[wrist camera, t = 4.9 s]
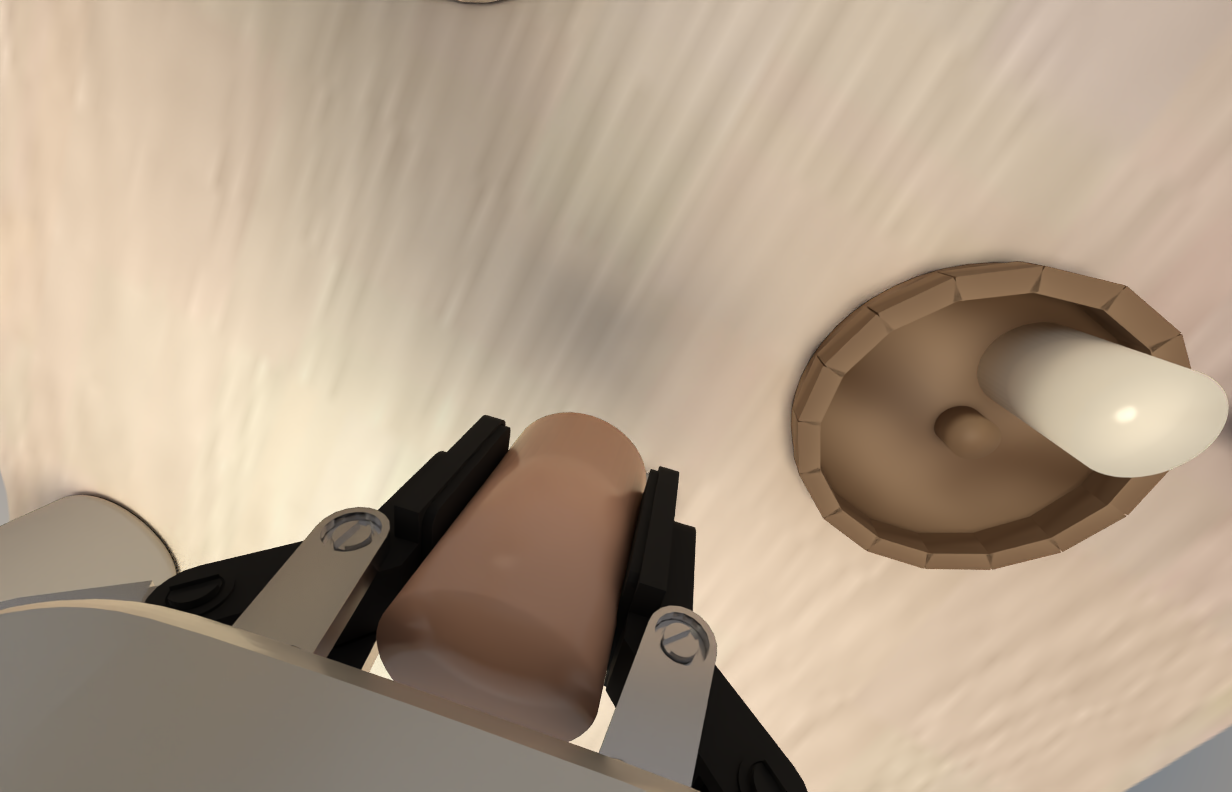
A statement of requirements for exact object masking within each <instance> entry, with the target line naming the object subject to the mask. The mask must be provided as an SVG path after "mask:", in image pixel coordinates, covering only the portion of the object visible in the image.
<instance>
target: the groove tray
mask: <svg viewBox="0 0 1232 792" xmlns="http://www.w3.org/2000/svg"><path fill="white" fill-rule="evenodd" d="M1037 322H1051V323H1057V324H1060V325H1063V326H1066V327H1069V328H1072V329H1075V330H1078V331H1081V332H1084V333H1087V334H1090V335H1092V336H1095V337H1098V338H1101V339H1104V340H1107V341H1110V342H1113V343H1116V344H1119V345H1122V346H1124V347H1127V348H1130V349H1133V350H1136V351H1139V352H1142V353H1145V354H1148V355H1151V356H1154V357H1156V358H1159V359H1162V360H1165V361H1168V362H1171V363H1174V364H1177V365H1180V366H1183V367H1186V368H1188V369H1191V366H1190V363H1189V359H1188V355H1187V351H1186V347H1185V343H1184V340H1183V336H1182V334H1180V333H1181V332H1180V331H1178V330H1177V329H1176V328H1175V327H1174V326H1173V325H1171V324H1170V323H1169V322H1168V321H1167V320H1166V319H1165V318H1163V317H1162V316H1161V315H1160V314H1159V313H1158V312H1156V311H1155V310H1154V309H1153V308H1152V307H1151V306H1149V305H1148V304H1147V303H1146V302H1145V301H1144V300H1143V299H1141V298H1140V297H1139V296H1138V295H1137V294H1136V293H1134V292H1133V291H1132V290H1131V289H1130V288H1129V287H1128V286H1125V285H1121V284H1117V283H1113V282H1109V281H1105V280H1101V279H1097V278H1092V277H1088V276H1084V275H1080V274H1076V273H1072V272H1068V271H1064V270H1059V269H1055V268H1051V267H1047V266H1042V265H1037V264H1031V263H1026V262H1019V261H1016V262H1008V263H996V262H992V263H978V264H966V265H961V266H955V267H950V268H945V269H940V270H937V271H934V272H930V273H927V274H924V275H920V276H917V277H915V278H912V279H910V280H908V281H905V282H903V283H901V284H898V285H896V286H894V287H892V288H890V289H888V290H886V291H884V292H883V293H881V294H879V295H877V296H875V297H874V298H872V299H871V300H869V301H868V302H866V303H865V304H863V305H862V306H861V307H859V308H858V309H856V310H855V311H853V312H852V313H851V314H850V315H849V316H848V317H847V318H845V319H844V320H843V321H842V322H841V323H840V324H839V325H838V326H836V327H835V329H834V330H833V331H832V332H831V333H830V334H829V335H828V336H827V338H826V339H825V340H824V341H823V342H822V343H821V345H820V346H819V347H818V349H817V350H816V352H815V353H814V355H813V356H812V358H811V359H810V361H809V363H808V365H807V366H806V368H805V370H804V372H803V374H802V376H801V379H800V382H799V384H798V387H797V390H796V393H795V397H794V402H793V407H792V417H791V431H792V441H793V445H794V459H795V462H796V465H797V469H798V472H799V475H800V477H801V479H802V480H803V482H804V484H805V486H806V488H807V489H808V491H809V493H810V495H811V497H812V499H813V500H814V502H815V504H816V506H817V508H818V510H819V511H820V513H821V515H822V517H823V518H824V519H825V520H826V521H827V522H829V523H830V524H831V525H833V526H834V527H835V528H837V529H838V530H839V531H841V532H842V533H843V534H845V535H846V536H847V537H849V538H850V539H851V540H853V541H854V542H855V543H857V544H858V545H859V546H861V547H862V548H863V549H865V550H867V551H868V552H872V553H875V554H878V555H881V556H885V557H888V558H891V559H894V560H898V561H901V562H904V563H907V564H910V565H914V566H917V567H920V568H925V569H974V570H990V569H996V568H1001V567H1005V566H1009V565H1013V564H1017V563H1021V562H1025V561H1029V560H1033V559H1037V558H1041V557H1045V556H1049V555H1053V554H1057V553H1061V552H1060V550H1061V551H1062V552H1063V551H1065V550H1067V549H1069V548H1070V547H1072V546H1074V545H1076V544H1078V543H1079V542H1081V541H1083V540H1085V539H1087V538H1088V537H1090V536H1092V535H1094V534H1096V533H1097V532H1099V531H1101V530H1103V529H1105V528H1106V527H1108V526H1110V525H1112V524H1113V523H1115V522H1117V521H1119V520H1121V519H1122V518H1124V517H1126V515H1124V514H1127V515H1129V514H1130V512H1131V511H1132V510H1133V509H1134V508H1135V507H1136V506H1137V505H1138V504H1139V503H1140V502H1141V501H1142V499H1143V498H1144V497H1145V496H1146V495H1147V494H1148V493H1149V492H1150V491H1151V490H1152V489H1153V488H1154V486H1155V485H1156V484H1157V483H1158V482H1159V481H1160V480H1161V479H1162V478H1163V477H1164V476H1165V474H1166V473H1167V472H1168V471H1169V470H1168V471H1165V472H1162V473H1158V474H1154V475H1150V476H1143V477H1132V478H1130V477H1114V476H1109V475H1105V474H1102V473H1099V472H1096V471H1094V470H1092V469H1090V468H1089V467H1087V466H1086V465H1085V464H1083V463H1082V462H1080V461H1079V460H1077V459H1076V458H1075V457H1073V456H1072V455H1070V454H1069V453H1067V452H1066V451H1065V450H1063V449H1062V448H1060V447H1059V446H1057V445H1056V444H1055V443H1053V442H1052V441H1050V440H1049V439H1047V438H1046V437H1045V436H1043V435H1042V434H1040V433H1039V432H1037V431H1036V430H1034V429H1033V428H1032V427H1030V426H1029V425H1027V424H1026V423H1024V422H1023V421H1022V420H1020V419H1019V418H1017V417H1016V416H1014V415H1013V414H1012V413H1010V412H1009V411H1007V410H1006V409H1004V408H1003V407H1002V406H1000V405H999V404H997V403H996V402H994V401H993V400H992V399H990V398H989V397H988V396H987V395H985V394H984V392H983V391H982V389H981V387H980V386H979V382H978V377H977V372H978V366H979V363H980V360H981V358H982V356H983V354H984V353H985V351H986V350H987V348H988V347H989V346H990V345H991V344H992V343H993V342H994V341H995V340H996V339H998V338H999V337H1000V336H1002V335H1003V334H1005V333H1007V332H1008V331H1010V330H1012V329H1014V328H1017V327H1020V326H1022V325H1026V324H1030V323H1037Z"/></svg>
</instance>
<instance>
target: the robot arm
mask: <svg viewBox="0 0 1232 792" xmlns="http://www.w3.org/2000/svg"><path fill="white" fill-rule="evenodd" d="M457 1H461V2H488V3H489V2H493V1H497V0H457ZM509 439H510V427H507V426H505V421H504V420H501V419H498V418H494V417H491V416H488V415H484V416H482V417H481V418H480V419H479V420H478V421H477V422H476V423H475V424H474V425H473V426H472V427H471V428H470V429H469V430H468V431H467V432H466V433H465V434H464V435H463V436H462V438H461V439H460V440H459V441H458V442H457V443H456V444H455V445H454V446H453V447H452V448H451V449H450V450H449V451H448V452H444V451H440V452H438V453H437V454H435V455H434V456H433V457H432V458H431V459H430V460H429V461H428V462H427V463H426V464H425V465H424V466H423V467H422V468H421V469H420V470H419V471H418V472H417V473H416V474H415V475H413V476H412V477H411V478H410V479H409V480H408V481H407V482H406V483H405V484H404V485H403V486H402V487H401V488H400V489H399V490H398V491H397V492H396V493H395V494H394V495H393V496H392V497H391V498H390V499H389V500H388V501H387V502H386V503H385V504H384V505H383V506H381V507H380V508H379V509H378V510H375V509H372V508H365V507H355V508H348V509H344V510H341V511H338V512H335V513H333V514H331V515H330V516H328V517H326V518H324V519H323V520H322V521H321V522H320V523H319V524H318V525H317V526H316V527H315V528H314V529H313V530H312V532H311V533H310V534H309V535H308V536H307V538H306V539H305V540H304V541H301V542H297V543H293V544H289V545H284V546H280V547H276V548H272V549H268V550H263V551H259V552H255V553H251V554H247V555H242V556H238V557H234V558H230V559H226V560H221V561H217V562H213V563H209V564H205V565H200V566H197V567H194V568H191V569H188V570H185V571H183V572H181V573H179V574H177V575H175V576H173V577H171V578H169V579H168V580H166V581H165V582H163V583H162V584H161V585H159V586H155V585H154V582H153V580H150V581H143V582H135V583H127V584H120V585H112V586H104V587H96V588H89V589H81V590H73V591H66V592H58V593H50V594H42V595H35V596H27V597H19V598H15V599H11V600H6V601H2V602H0V792H808V791H807V789H806V786H805V784H804V781H803V780H802V778H801V777H800V775H799V774H798V772H797V770H796V769H795V767H794V766H793V765H792V763H791V762H790V761H789V759H788V758H787V757H786V756H785V754H784V753H783V752H782V750H781V749H780V748H779V747H778V745H777V744H776V743H775V741H774V740H773V739H772V737H771V736H770V735H769V734H768V732H767V731H766V730H765V728H764V727H763V726H762V725H761V723H760V722H759V721H758V719H757V718H756V717H755V716H754V714H753V713H752V712H751V710H750V709H749V708H748V706H747V705H746V704H745V703H744V701H743V700H742V699H741V697H740V696H739V695H738V694H737V692H736V691H735V690H734V688H733V687H732V686H731V685H730V683H729V682H728V681H727V679H726V678H725V677H724V675H723V674H722V673H721V672H720V670H719V669H718V668H717V666H716V665H715V661H716V656H717V643H716V640H715V636H714V633H713V632H712V630H711V628H710V627H709V625H708V624H707V623H706V622H705V621H704V620H703V619H702V618H701V617H700V616H699V615H698V614H696V613H694V612H693V591H694V567H695V544H696V529H695V527H692V526H688V525H685V524H682V523H678V522H675V521H674V517H675V508H676V498H677V489H678V480H679V472H678V471H675V470H671V469H668V468H665V467H661V466H660V467H659V469H658V471H656V470H652V469H651V470H650V473H649V476H648V479H647V482H646V486H645V489H644V492H643V496H642V501H641V505H640V510H639V514H638V519H637V523H636V528H635V532H634V537H633V541H632V546H631V550H630V555H629V560H628V564H627V569H626V573H625V578H624V582H623V587H622V591H621V596H620V600H619V605H618V609H617V624H616V629H615V634H614V638H613V643H612V648H611V652H610V657H609V662H608V666H607V672H606V677H605V681H604V686H606V692H607V693H608V695H609V697H610V699H611V701H612V702H613V704H614V706H615V711H614V714H613V716H612V719H611V722H610V724H609V727H608V730H607V732H606V735H605V738H604V740H603V743H602V746H601V748H600V751H599V753H597V752H594V751H591V750H588V749H586V748H583V747H580V746H577V745H574V744H571V743H569V742H566V741H563V740H560V739H557V738H555V737H552V736H549V735H546V734H543V733H540V732H538V731H535V730H532V729H529V728H526V727H524V726H521V725H518V724H515V723H512V722H509V721H507V720H504V719H501V718H498V717H495V716H492V715H490V714H487V713H484V712H481V711H478V710H475V709H472V708H470V707H467V706H464V705H461V704H458V703H455V702H452V701H450V700H447V699H444V698H441V697H438V696H435V695H432V694H429V693H427V692H424V691H421V690H418V689H415V688H412V687H409V686H406V685H404V684H401V683H398V682H395V681H392V680H389V679H386V678H383V677H381V676H378V675H375V674H372V673H369V672H370V670H371V668H372V666H373V664H374V662H375V660H376V658H377V656H378V654H379V651H378V648H377V641H376V635H377V627H378V624H379V621H380V619H381V617H382V615H383V613H384V612H385V611H386V609H387V608H388V607H389V605H390V604H391V603H392V601H393V600H394V599H395V598H396V596H397V595H398V594H399V592H400V591H401V590H402V588H403V587H404V586H405V585H406V583H407V582H408V581H409V579H410V578H411V577H412V575H413V574H414V573H415V571H416V570H417V569H418V568H419V566H420V565H421V564H422V562H423V561H424V560H425V558H426V557H427V556H428V555H429V553H430V552H431V551H432V549H433V548H434V547H435V545H436V544H437V543H438V542H439V540H440V539H441V538H442V536H443V535H444V534H445V532H446V531H447V530H448V529H449V527H450V526H451V525H452V523H453V522H454V521H455V519H456V518H457V517H458V515H459V514H460V513H461V512H462V510H463V509H464V508H465V506H466V505H467V504H468V502H469V501H470V500H471V499H472V497H473V496H474V495H475V493H476V492H477V491H478V489H479V488H480V487H481V486H482V484H483V483H484V482H485V480H486V479H487V478H488V476H489V475H490V474H491V473H492V471H493V470H494V469H495V467H496V466H497V465H498V463H499V462H500V461H501V459H502V458H503V457H504V456H505V454H506V453H507V452H508V447H509Z"/></svg>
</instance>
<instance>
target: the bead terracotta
mask: <svg viewBox="0 0 1232 792" xmlns="http://www.w3.org/2000/svg"><path fill="white" fill-rule="evenodd" d="M645 486H646V471H645V467H644V463H643V460H642V458H641V456H640V454H639V452H638V450H637V449H636V447H635V446H634V445H633V443H632V442H631V441H630V440H629V439H628V438H627V437H626V436H625V435H624V434H623V433H622V432H621V431H620V430H618V429H617V428H616V427H614V426H613V425H611V424H609V423H608V422H605V421H603V420H601V419H599V418H596V417H593V416H590V415H586V414H582V413H573V412H566V413H556V414H551V415H548V416H545V417H542V418H540V419H538V420H536V421H535V422H533V423H532V424H530V425H529V426H528V427H527V428H526V429H525V430H524V431H523V432H522V434H521V435H520V436H519V437H518V439H517V440H516V441H515V443H514V444H513V445H512V446H511V448H510V449H509V450H508V452H507V453H506V454H505V456H504V457H503V458H502V459H501V461H500V462H499V463H498V465H497V466H496V467H495V469H494V470H493V471H492V473H491V474H490V475H489V476H488V478H487V479H486V480H485V482H484V483H483V484H482V486H481V487H480V488H479V489H478V491H477V492H476V493H475V495H474V496H473V497H472V499H471V500H470V501H469V502H468V504H467V505H466V506H465V508H464V509H463V510H462V512H461V513H460V514H459V515H458V517H457V518H456V519H455V521H454V522H453V523H452V525H451V526H450V527H449V529H448V530H447V531H446V532H445V534H444V535H443V536H442V538H441V539H440V540H439V542H438V543H437V544H436V545H435V547H434V548H433V549H432V551H431V552H430V553H429V555H428V556H427V557H426V558H425V560H424V561H423V562H422V564H421V565H420V566H419V568H418V569H417V570H416V571H415V573H414V574H413V575H412V577H411V578H410V579H409V581H408V582H407V583H406V585H405V586H404V587H403V588H402V590H401V591H400V592H399V594H398V595H397V596H396V598H395V599H394V600H393V601H392V603H391V604H390V605H389V607H388V608H387V609H386V611H385V612H384V613H383V615H382V617H381V619H380V621H379V624H378V627H377V635H376V641H377V648H378V651H379V655H380V658H381V660H382V662H383V664H384V666H385V668H386V670H387V672H388V673H389V675H390V676H391V678H392V679H393V680H394V681H395V682H398V683H401V684H404V685H406V686H409V687H412V688H415V689H418V690H421V691H424V692H427V693H429V694H432V695H435V696H438V697H441V698H444V699H447V700H450V701H452V702H455V703H458V704H461V705H464V706H467V707H470V708H472V709H475V710H478V711H481V712H484V713H487V714H490V715H492V716H495V717H498V718H501V719H504V720H507V721H509V722H512V723H515V724H518V725H521V726H524V727H526V728H529V729H532V730H535V731H538V732H540V733H543V734H546V735H549V736H552V737H555V738H557V739H560V740H563V741H566V742H569V741H572V740H573V739H575V738H577V737H579V736H581V735H582V734H583V733H584V732H585V731H587V730H588V728H589V727H590V726H591V725H592V723H593V722H594V720H595V718H596V716H597V712H598V708H599V704H600V699H601V694H602V690H603V685H604V680H605V676H606V671H607V666H608V662H609V657H610V652H611V648H612V643H613V638H614V634H615V629H616V624H617V609H618V605H619V600H620V596H621V591H622V587H623V582H624V578H625V573H626V569H627V564H628V560H629V555H630V550H631V546H632V541H633V537H634V532H635V528H636V523H637V519H638V514H639V510H640V505H641V501H642V496H643V492H644V489H645Z"/></svg>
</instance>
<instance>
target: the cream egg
mask: <svg viewBox="0 0 1232 792" xmlns="http://www.w3.org/2000/svg"><path fill="white" fill-rule="evenodd" d="M977 377H978V382H979V386H980V387H981V389H982V391H983V392H984V394H985V395H987V396H988V397H989V398H990V399H992V400H993V401H994V402H996V403H997V404H999V405H1000V406H1002V407H1003V408H1004V409H1006V410H1007V411H1009V412H1010V413H1012V414H1013V415H1014V416H1016V417H1017V418H1019V419H1020V420H1022V421H1023V422H1024V423H1026V424H1027V425H1029V426H1030V427H1032V428H1033V429H1034V430H1036V431H1037V432H1039V433H1040V434H1042V435H1043V436H1045V437H1046V438H1047V439H1049V440H1050V441H1052V442H1053V443H1055V444H1056V445H1057V446H1059V447H1060V448H1062V449H1063V450H1065V451H1066V452H1067V453H1069V454H1070V455H1072V456H1073V457H1075V458H1076V459H1077V460H1079V461H1080V462H1082V463H1083V464H1085V465H1086V466H1087V467H1089V468H1090V469H1092V470H1094V471H1096V472H1099V473H1102V474H1105V475H1109V476H1114V477H1130V478H1132V477H1143V476H1150V475H1154V474H1158V473H1162V472H1165V471H1168V470H1171V469H1173V468H1176V467H1178V466H1181V465H1182V464H1184V463H1186V462H1188V461H1190V460H1192V459H1193V458H1195V457H1196V456H1198V455H1199V454H1200V453H1202V452H1203V451H1204V450H1206V449H1207V448H1208V447H1209V446H1210V445H1211V444H1212V443H1213V442H1214V440H1215V439H1216V438H1217V437H1218V435H1219V434H1220V432H1221V431H1222V429H1223V427H1224V425H1225V423H1226V420H1227V416H1228V408H1229V406H1228V399H1227V397H1226V394H1225V392H1224V390H1223V389H1222V387H1221V386H1220V385H1219V384H1218V383H1217V382H1216V381H1215V380H1213V379H1212V378H1210V377H1209V376H1207V375H1205V374H1203V373H1200V372H1197V371H1194V370H1191V369H1188V368H1186V367H1183V366H1180V365H1177V364H1174V363H1171V362H1168V361H1165V360H1162V359H1159V358H1156V357H1154V356H1151V355H1148V354H1145V353H1142V352H1139V351H1136V350H1133V349H1130V348H1127V347H1124V346H1122V345H1119V344H1116V343H1113V342H1110V341H1107V340H1104V339H1101V338H1098V337H1095V336H1092V335H1090V334H1087V333H1084V332H1081V331H1078V330H1075V329H1072V328H1069V327H1066V326H1063V325H1060V324H1057V323H1051V322H1037V323H1030V324H1026V325H1022V326H1020V327H1017V328H1014V329H1012V330H1010V331H1008V332H1007V333H1005V334H1003V335H1002V336H1000V337H999V338H998V339H996V340H995V341H994V342H993V343H992V344H991V345H990V346H989V347H988V348H987V350H986V351H985V353H984V354H983V356H982V358H981V360H980V363H979V366H978V372H977Z"/></svg>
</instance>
